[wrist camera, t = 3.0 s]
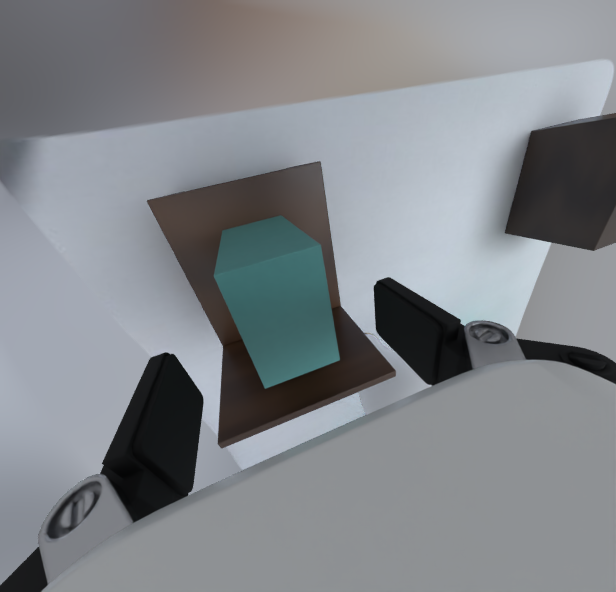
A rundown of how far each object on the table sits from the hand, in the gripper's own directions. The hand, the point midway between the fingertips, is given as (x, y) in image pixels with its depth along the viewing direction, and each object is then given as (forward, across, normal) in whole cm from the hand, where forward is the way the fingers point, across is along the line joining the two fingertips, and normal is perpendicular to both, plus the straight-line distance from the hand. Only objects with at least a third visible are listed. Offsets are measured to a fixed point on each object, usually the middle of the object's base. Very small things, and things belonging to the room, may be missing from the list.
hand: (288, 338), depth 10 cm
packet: (+10, 0, 0) cm, 10 cm away
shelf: (+17, 0, 0) cm, 17 cm away
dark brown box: (+16, -41, +2) cm, 44 cm away
